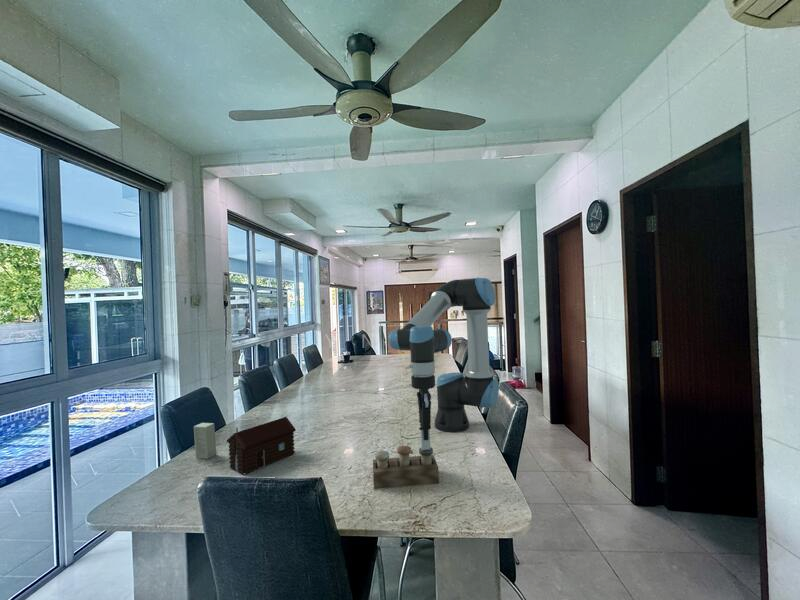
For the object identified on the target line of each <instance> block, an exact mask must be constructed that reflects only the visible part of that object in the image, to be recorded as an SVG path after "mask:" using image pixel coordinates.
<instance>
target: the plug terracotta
mask: <svg viewBox="0 0 800 600" xmlns="http://www.w3.org/2000/svg"><path fill="white" fill-rule="evenodd" d="M396 452H397V454H398V455H399V457H398V458H399V460H400V467H404V466H410V458H409V457H410V454H411V453H412V448H411V446H409V445H401V446H399V447H397V449H396Z"/></svg>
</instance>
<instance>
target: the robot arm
mask: <svg viewBox="0 0 800 600" xmlns="http://www.w3.org/2000/svg"><path fill="white" fill-rule="evenodd" d="M495 302H496V292H495V288H494V285H493V283H492V282H491V280H490V279H489V278H486V277H476V278H475V277H474V278H462V279H453V280H449V281H448V282H446V283H443V285H441V286H439V287H438V288H437V289H435V291H433V293H432V294H431V295H430V299H429V300H428V301H427V302H426V303H425V304H424V305H423V306H422V307H421V308H420V309H419V311H418V312H416V314H414V315H413V317H411V319H410V320H409V321H408V322H407V323H406V324H405V325H404V326H403V327H402V328H396V329H392V330H391V331H390V332H389V334H388V335H389V336H388V343H389V347H390V348H391V349H393V350H398V351H402V352H403V351H409V352H410V364H409V365H408V368H409V369H410V372H411V374H412V375H411V377H410V378H411V387H412V388H413V389H416V390H418V392H416V397H417V405H418V419H419V426H420V427H419V429H418V430H419V431H420V448H421V449H422V450H429V449H430V447H431V433H430V430H431V428H432V427H431V425H432V424H431V423H432V421H431V419H432V417H431V416H432V415H431V410H432V409H431V408H432V402H431V400H432V397H431V396H432V394H431V393H430V391H429V390H430V389H433V388H435V387H436V396H437V411H436V413H435V414H436V415H435V417H434V428H435V429H436V430H439V431H442V432H448V433H457V432H459V433H460V432H463V431H466V430H469V428H470V421H469V418H468V415H467V412H466V409H465V406H471V407H477V408H478V407H479V408H481V409H483V408H488V409H490V408H493V407H494V406H495V404H496V403H497V400H498V398H499V397H498V396H499V392H500V384H499V381H498V380H497V379H494V373H493V372H491V371H490V354H489V353H490V351H489V331H488V330H489V327H488V325H489V324H488V313H489V312H491V308H492V306H494V305H495ZM453 307H462V312H463V313H464V314H465V315H466V331H467V332H466V335H467V338H466V339H467V340H466V341H467V361H468V365H467V366H468V371H467V372H466V373H465V375H464V373H463V372H450V373H443V374H440V375H439V376H438V377H437V379H436V375H434V374H436V367H435V363H436V362H435V354H436V353H439V352H443V351H446V350H447V349H449V348H450V347H451V345H452V343H453V338H452V335H451V333H450V331H448V330H446V329H444V328H436V329H434V328H433V325H434V323H435V322H436V321H437V320H438V319H439V317H440V316H441V315H442V314H443V313H444V312H446V311H448V310H449V309H451V308H453Z"/></svg>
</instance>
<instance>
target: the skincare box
mask: <svg viewBox="0 0 800 600" xmlns="http://www.w3.org/2000/svg"><path fill="white" fill-rule="evenodd" d="M215 428H216V427H215V423H213V422H200V423H198V424H196V425H194V426H193V437H194V451H195V454H194V455H195V458H196V459H205V460H208V459H210V458H212V457H214V456H216V455H217V444H216V432H215V431H216V430H215Z"/></svg>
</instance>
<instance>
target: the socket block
mask: <svg viewBox="0 0 800 600" xmlns="http://www.w3.org/2000/svg"><path fill="white" fill-rule="evenodd" d="M409 458H410V466H404V467H400V460H399V457H389V458H388V459H387V461H388V468H378V465H377V459H376V458H375V459H374V458H373V459H372V470H373V471H372V476H373V490H376V489H377V490H378V489H387V488H388V489H389V488H400V487H401V488H402V487H412V486H413V487H414V486H423V485H424V486H426V485H438V484H440V475H439V469H440V468H439V466H438V462H437V461H436V459H435V455H434V454H431V461H432V464H430V465H422V462H421V455H417V456H416V455H415V456H409Z"/></svg>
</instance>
